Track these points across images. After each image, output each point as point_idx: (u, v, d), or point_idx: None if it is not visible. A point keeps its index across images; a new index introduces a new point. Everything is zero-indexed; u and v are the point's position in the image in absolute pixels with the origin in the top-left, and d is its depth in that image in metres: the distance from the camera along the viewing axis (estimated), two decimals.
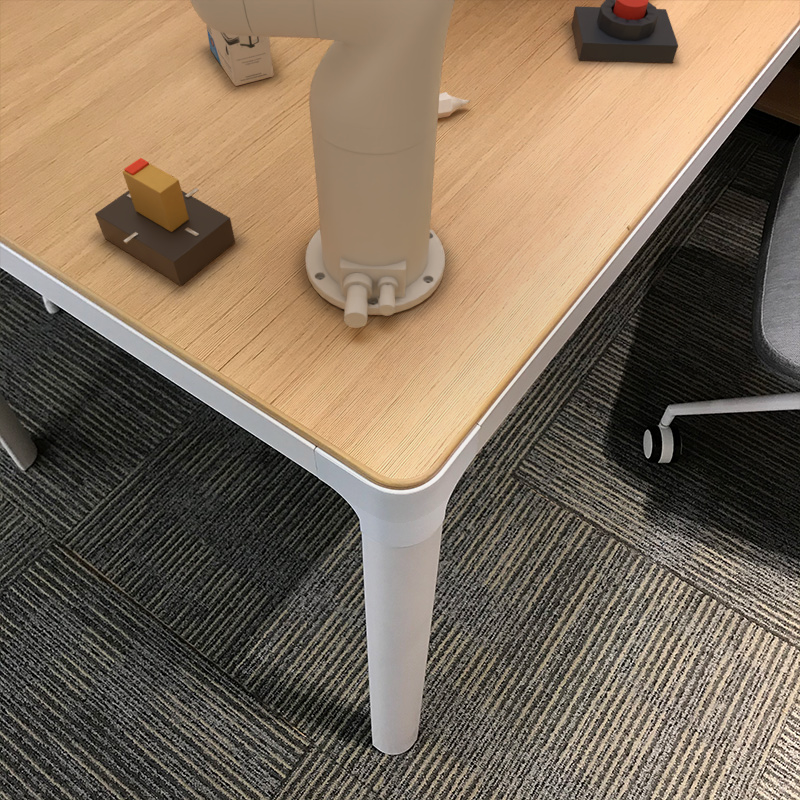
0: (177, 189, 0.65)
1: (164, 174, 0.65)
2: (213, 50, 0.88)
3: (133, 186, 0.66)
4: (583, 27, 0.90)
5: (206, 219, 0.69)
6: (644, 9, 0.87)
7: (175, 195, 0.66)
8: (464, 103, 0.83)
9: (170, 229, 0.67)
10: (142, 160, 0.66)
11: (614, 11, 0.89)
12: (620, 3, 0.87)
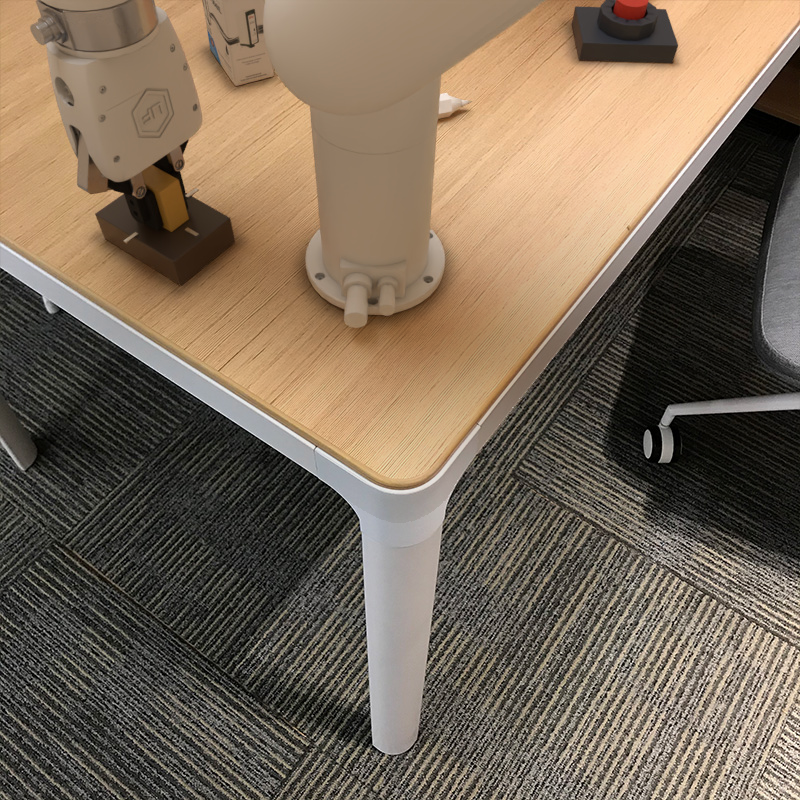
0: (177, 189, 0.65)
1: (164, 174, 0.65)
2: (213, 50, 0.88)
3: None
4: (583, 27, 0.90)
5: (206, 219, 0.69)
6: (644, 9, 0.87)
7: (175, 195, 0.66)
8: (464, 103, 0.83)
9: (170, 229, 0.67)
10: None
11: (614, 11, 0.89)
12: (620, 3, 0.87)
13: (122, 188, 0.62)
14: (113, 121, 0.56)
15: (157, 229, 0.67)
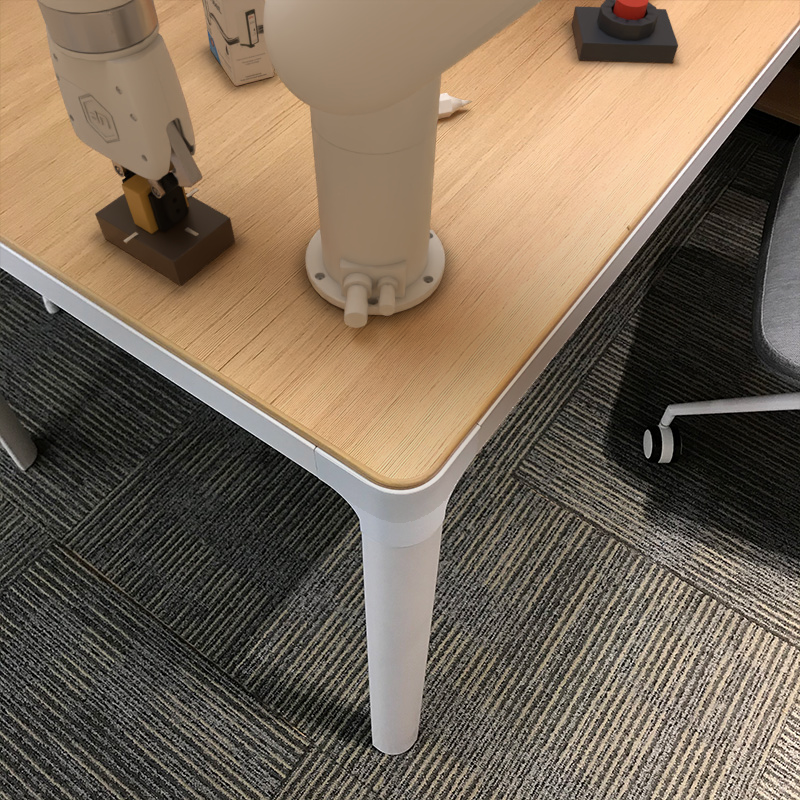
0: (138, 200, 0.64)
1: None
2: (213, 50, 0.88)
3: None
4: (583, 27, 0.90)
5: (206, 219, 0.69)
6: (644, 9, 0.87)
7: (136, 202, 0.65)
8: (464, 103, 0.83)
9: (134, 221, 0.68)
10: None
11: (614, 11, 0.89)
12: (620, 3, 0.87)
13: None
14: (65, 88, 0.58)
15: None
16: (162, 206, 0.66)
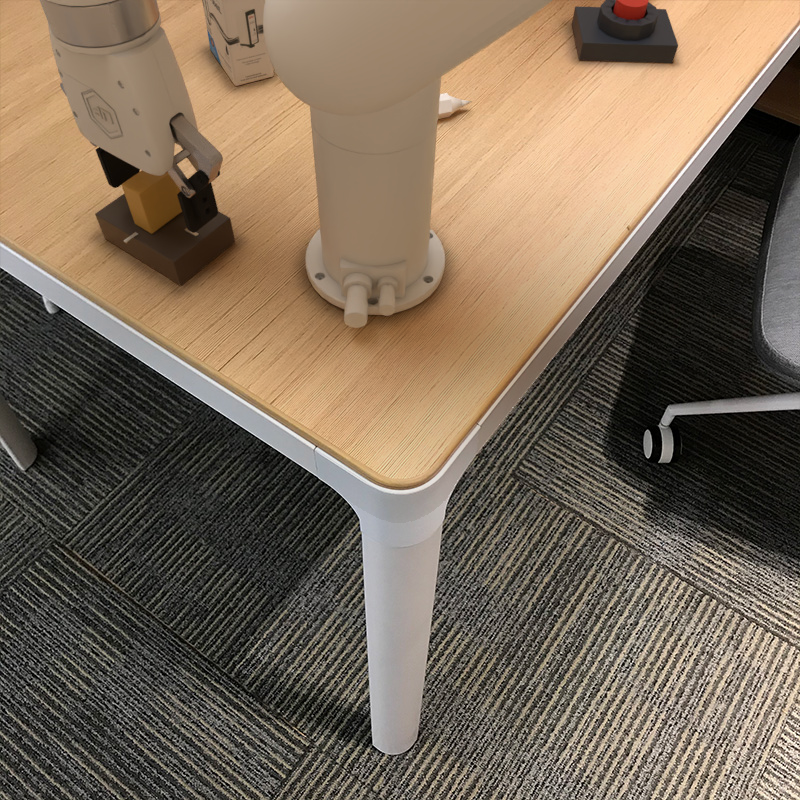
0: (138, 200, 0.64)
1: (149, 184, 0.64)
2: (213, 50, 0.88)
3: None
4: (583, 27, 0.90)
5: None
6: (644, 9, 0.87)
7: (136, 202, 0.65)
8: (464, 104, 0.83)
9: (134, 221, 0.68)
10: None
11: (614, 11, 0.89)
12: (620, 3, 0.87)
13: None
14: (68, 84, 0.58)
15: None
16: (192, 206, 0.63)
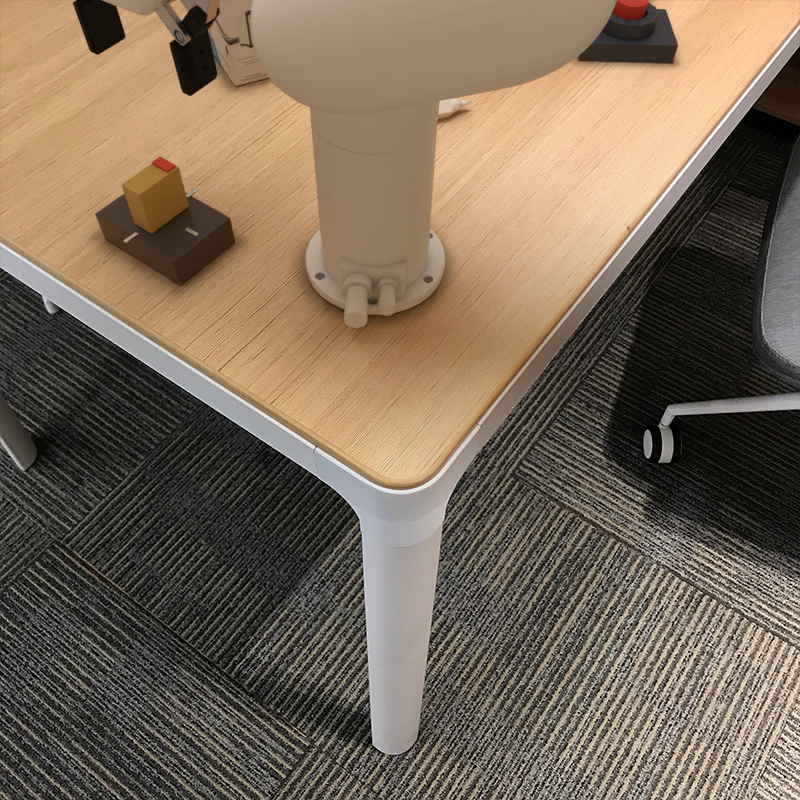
0: (138, 200, 0.64)
1: (149, 184, 0.64)
2: (213, 50, 0.88)
3: None
4: None
5: (206, 219, 0.69)
6: (644, 9, 0.87)
7: (136, 202, 0.65)
8: (464, 104, 0.83)
9: (134, 221, 0.68)
10: (170, 166, 0.65)
11: (614, 11, 0.89)
12: (620, 3, 0.87)
13: None
14: None
15: None
16: (187, 60, 0.54)
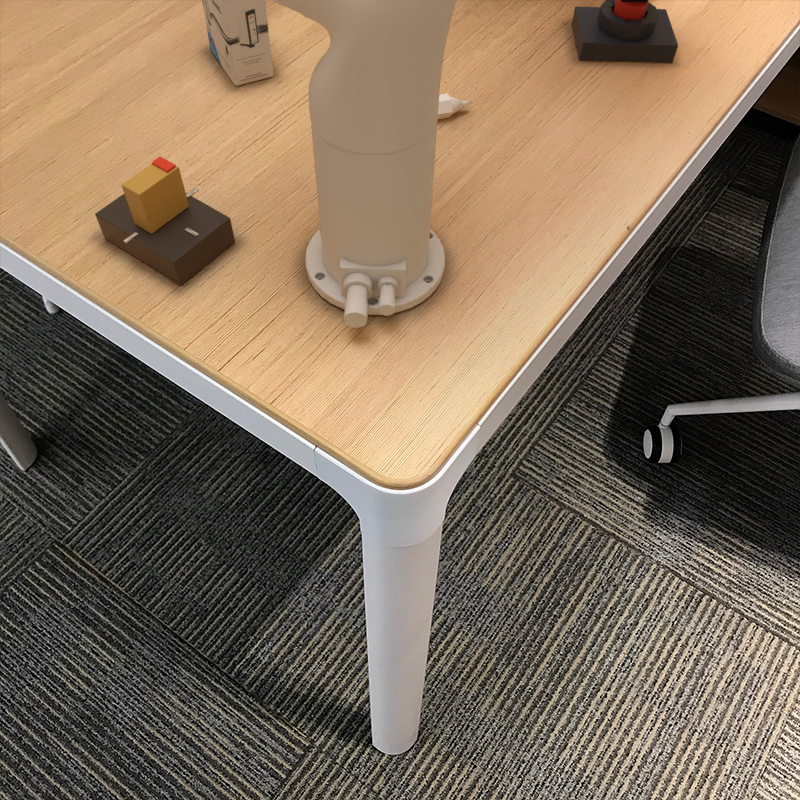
0: (138, 200, 0.64)
1: (149, 184, 0.64)
2: (213, 50, 0.88)
3: None
4: (583, 27, 0.90)
5: (206, 219, 0.69)
6: (644, 10, 0.88)
7: (136, 202, 0.65)
8: (465, 104, 0.83)
9: (134, 221, 0.68)
10: (170, 166, 0.65)
11: (614, 12, 0.89)
12: (619, 3, 0.87)
13: None
14: None
15: None
16: None
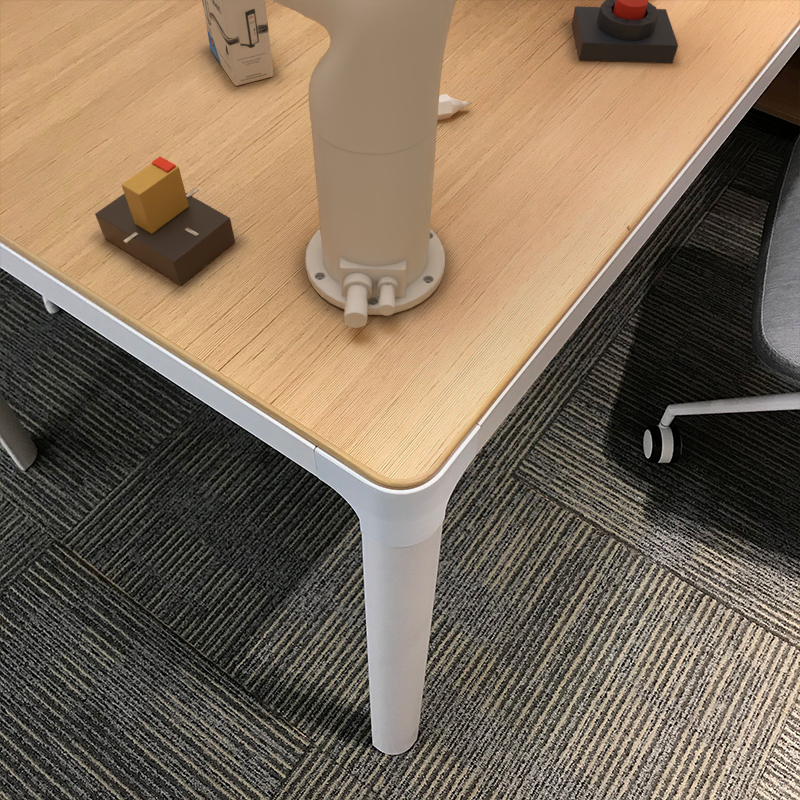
0: (138, 200, 0.64)
1: (149, 184, 0.64)
2: (213, 50, 0.88)
3: None
4: (583, 27, 0.90)
5: (206, 219, 0.69)
6: (644, 9, 0.87)
7: (136, 202, 0.65)
8: (465, 105, 0.83)
9: (134, 221, 0.68)
10: (170, 166, 0.65)
11: (614, 11, 0.89)
12: (620, 3, 0.87)
13: None
14: None
15: None
16: None
